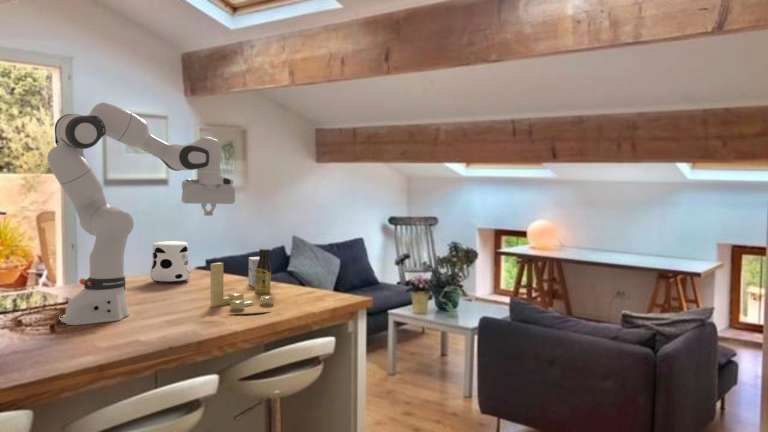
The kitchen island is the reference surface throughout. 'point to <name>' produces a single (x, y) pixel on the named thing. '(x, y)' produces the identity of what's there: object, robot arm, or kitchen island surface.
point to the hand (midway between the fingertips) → (208, 215)
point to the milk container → (170, 262)
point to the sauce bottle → (263, 273)
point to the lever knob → (220, 287)
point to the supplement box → (252, 270)
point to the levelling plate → (239, 305)
